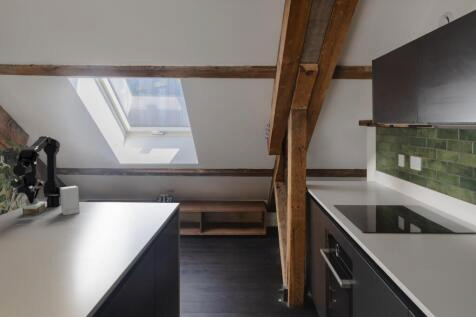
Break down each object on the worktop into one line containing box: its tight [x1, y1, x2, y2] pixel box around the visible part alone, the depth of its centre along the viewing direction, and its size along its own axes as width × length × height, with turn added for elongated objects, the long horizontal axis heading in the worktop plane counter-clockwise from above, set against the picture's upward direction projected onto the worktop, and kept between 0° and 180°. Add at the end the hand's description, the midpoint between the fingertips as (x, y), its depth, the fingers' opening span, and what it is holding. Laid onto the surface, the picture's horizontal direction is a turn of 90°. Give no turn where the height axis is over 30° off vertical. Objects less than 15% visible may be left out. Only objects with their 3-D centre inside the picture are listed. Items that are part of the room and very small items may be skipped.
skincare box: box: [60, 185, 81, 216], centre depth 176 cm, size 8×6×15 cm
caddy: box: [22, 203, 46, 216], centre depth 175 cm, size 8×8×5 cm
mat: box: [18, 210, 54, 221], centre depth 171 cm, size 11×16×1 cm
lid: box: [18, 198, 46, 209], centre depth 166 cm, size 9×9×4 cm
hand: (32, 202), depth 166 cm, fingers closed on lid, 2 cm apart
